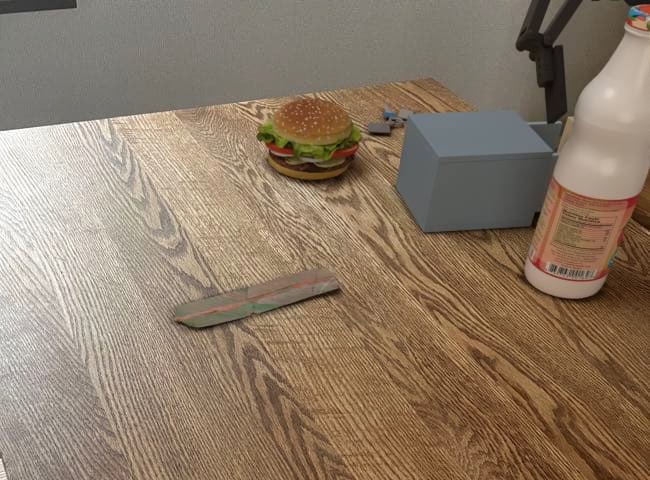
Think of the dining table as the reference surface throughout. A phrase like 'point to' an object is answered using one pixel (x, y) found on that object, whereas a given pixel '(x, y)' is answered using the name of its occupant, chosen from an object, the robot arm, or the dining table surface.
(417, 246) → the dining table surface
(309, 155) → the food
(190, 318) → the map
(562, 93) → the robot arm
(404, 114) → the key chain
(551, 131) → the drawer
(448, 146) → the cabinet
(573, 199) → the fruit juice
